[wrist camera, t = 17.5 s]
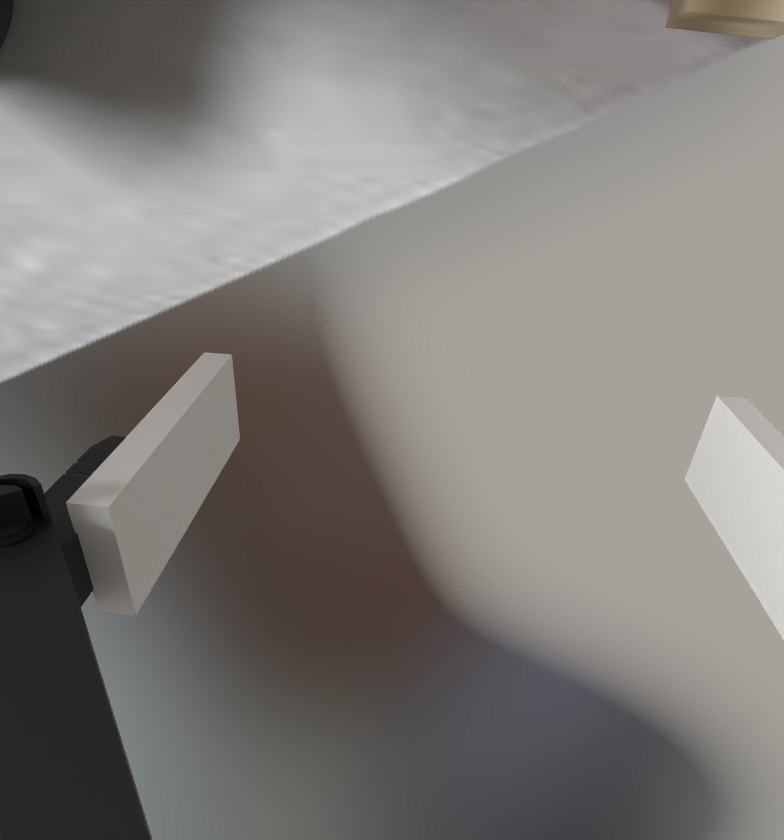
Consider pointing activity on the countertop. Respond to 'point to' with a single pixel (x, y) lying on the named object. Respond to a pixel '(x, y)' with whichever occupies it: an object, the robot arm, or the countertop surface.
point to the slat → (729, 17)
